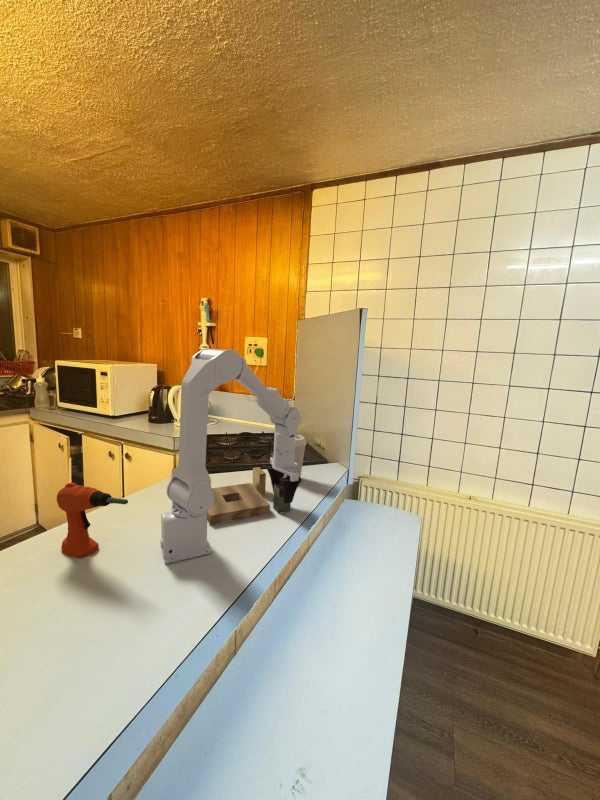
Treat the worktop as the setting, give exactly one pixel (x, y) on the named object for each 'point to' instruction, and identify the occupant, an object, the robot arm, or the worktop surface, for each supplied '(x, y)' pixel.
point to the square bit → (280, 500)
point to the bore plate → (236, 503)
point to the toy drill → (81, 516)
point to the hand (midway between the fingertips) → (282, 496)
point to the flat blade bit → (259, 480)
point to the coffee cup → (299, 453)
